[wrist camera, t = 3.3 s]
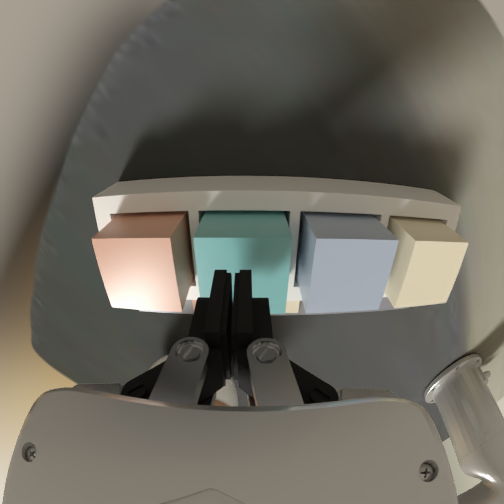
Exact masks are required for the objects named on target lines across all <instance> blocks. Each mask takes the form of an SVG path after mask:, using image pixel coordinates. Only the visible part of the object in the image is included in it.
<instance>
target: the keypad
mask: <svg viewBox="0 0 504 504" xmlns="http://www.w3.org/2000/svg"><path fill="white" fill-rule="evenodd" d="M92 199H93V205H94V210H95V215H96V220H97V225H98V230H99V231H100V230H102V229H103V228H104V227H105V226H106V225H107V224H108V223H109V222H110V221H112V220H113V219H114V218H115V217H116V216H117V215H118V214H120V213H137V212H163V211H188V213H189V224H190V235H191V245H192V254H193V263H194V272H195V273H194V276H193V280H192V283H191V286H190V289H189V292H188V295H187V298H186V302H185V305H184V308H183V311H182V312H169V311H153V310H140V311H149V312H164V313H182V314H194V310H195V305H196V301H197V298H198V297H200V293H199V285H198V277H197V268H196V259H195V250H194V239H193V237H194V235H195V233H196V231H197V228H198V226H199V224H200V222H201V220H202V217H203V215H204V213H205V211H209V210H265V211H284V214H285V217H286V220H287V223H288V226H289V229H290V233H291V236H292V247H291V259H290V270H289V281H288V291H287V301H286V311H285V314H270V315H313V314H337V313H355V312H369V311H382V310H394V309H405V308H407V307H403V308H394V307H393V305H392V304H391V302H390V301H389V299H388V297H387V296H386V294H385V292H384V295H383V298H382V301H381V304H380V307H379V310H366V311H350V312H330V313H305V309H304V305H303V301H302V297H301V293H300V289H299V284H298V280H297V276H296V273H295V268H296V258H297V247H298V236H299V224H300V212H301V211H312V212H339V213H359V214H372V215H374V216H375V217H376V218H377V219H378V220H379V221H380V222H381V223H382V224H383V225H384V226H385V227H386V228H387V226H388V221H389V216H390V215H393V216H407V217H419V218H431V219H438V220H440V221H441V222H443V223H444V224H445V225H447V226H448V227H449V228H451V229H452V230H453V231H454V232H455V230H456V226H457V223H458V219H459V215H460V210H461V206H460V205H459V204H457V203H455V202H454V201H452V200H450V199H449V198H447V197H445V196H443V195H442V194H440V193H438V192H436V191H434V190H430V189H423V188H416V187H409V186H401V185H393V184H385V183H376V182H366V181H355V180H342V179H328V178H311V177H287V176H200V177H176V178H159V179H145V180H133V181H122V182H117V183H115V184H114V185H112V186H110V187H109V188H107V189H105V190H104V191H102V192H100V193H99V194H97V195H96V196H94V197H92Z"/></svg>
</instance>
